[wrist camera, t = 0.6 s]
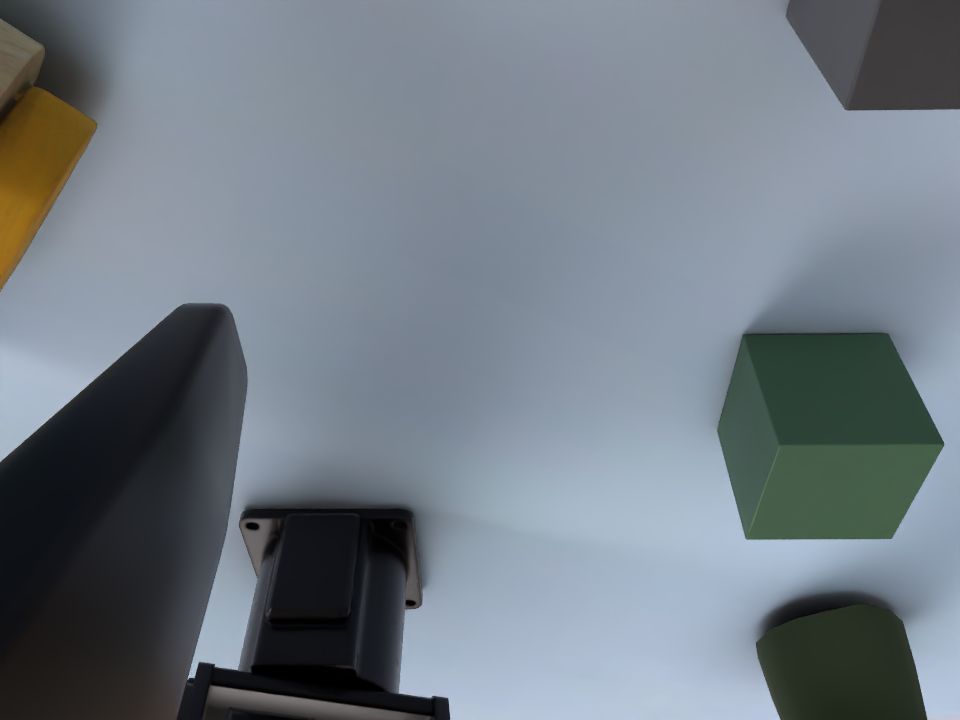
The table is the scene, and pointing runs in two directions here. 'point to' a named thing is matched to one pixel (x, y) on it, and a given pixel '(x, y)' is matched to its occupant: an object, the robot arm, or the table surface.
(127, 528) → the robot arm
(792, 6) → the charcoal block
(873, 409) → the green block
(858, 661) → the character mug
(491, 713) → the table surface
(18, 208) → the toy roller
